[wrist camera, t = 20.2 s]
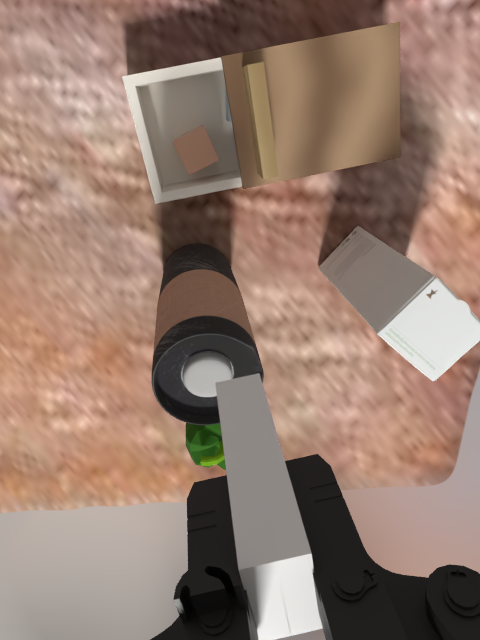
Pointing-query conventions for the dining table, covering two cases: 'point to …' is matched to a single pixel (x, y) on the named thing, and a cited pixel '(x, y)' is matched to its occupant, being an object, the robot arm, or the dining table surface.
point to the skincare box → (402, 302)
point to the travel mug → (200, 334)
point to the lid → (315, 104)
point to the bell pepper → (205, 444)
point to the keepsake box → (183, 127)
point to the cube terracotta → (195, 149)
